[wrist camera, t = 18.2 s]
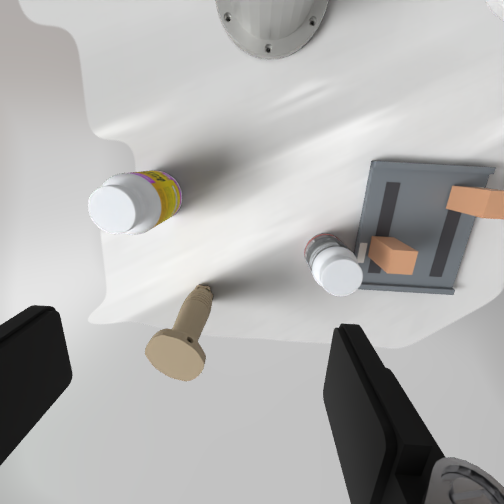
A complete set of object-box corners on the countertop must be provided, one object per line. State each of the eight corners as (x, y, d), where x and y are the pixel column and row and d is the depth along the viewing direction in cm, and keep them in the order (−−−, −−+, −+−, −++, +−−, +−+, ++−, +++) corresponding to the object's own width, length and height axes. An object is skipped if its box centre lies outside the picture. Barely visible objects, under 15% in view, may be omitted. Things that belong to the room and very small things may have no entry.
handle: (196, 269, 41) (162, 326, 27) (228, 294, 42) (212, 361, 28) (178, 290, 42) (136, 356, 28) (209, 314, 44) (185, 388, 29)
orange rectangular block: (371, 236, 37) (392, 250, 31) (393, 237, 37) (418, 251, 31) (367, 256, 38) (387, 273, 32) (388, 257, 38) (412, 274, 32)
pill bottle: (347, 260, 40) (374, 291, 31) (311, 274, 41) (326, 308, 31) (335, 226, 38) (359, 247, 29) (298, 241, 39) (309, 266, 30)
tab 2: (452, 185, 35) (491, 190, 29) (475, 186, 35) (519, 192, 29) (445, 208, 36) (482, 217, 30) (468, 209, 36) (509, 219, 30)
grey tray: (371, 161, 35) (376, 161, 34) (485, 167, 35) (495, 167, 34) (348, 284, 41) (351, 288, 40) (446, 289, 41) (453, 294, 39)
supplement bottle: (183, 172, 37) (145, 178, 24) (183, 219, 39) (148, 247, 27) (135, 168, 37) (72, 171, 24) (137, 215, 39) (81, 241, 27)
